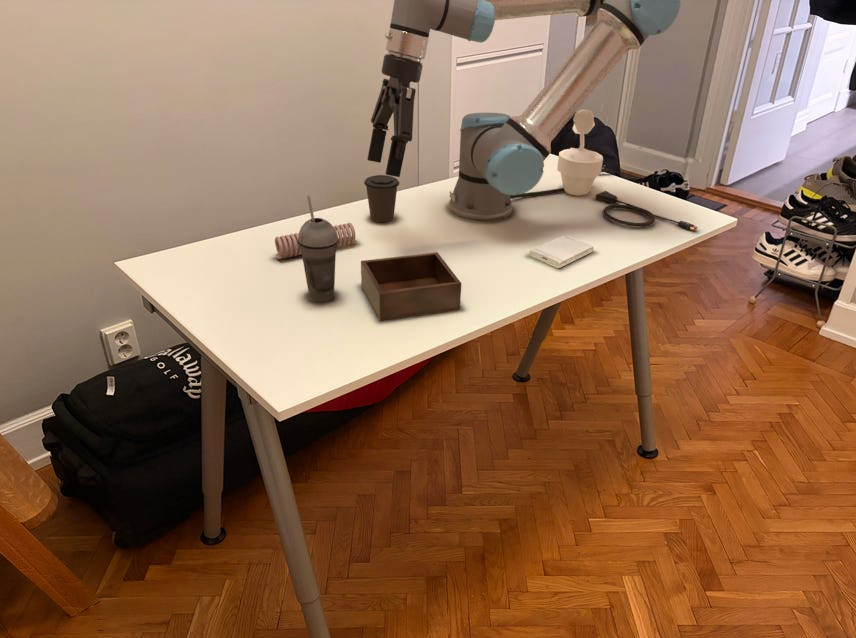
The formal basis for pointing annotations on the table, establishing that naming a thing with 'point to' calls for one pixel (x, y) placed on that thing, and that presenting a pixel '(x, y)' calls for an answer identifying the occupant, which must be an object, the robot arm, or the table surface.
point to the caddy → (410, 285)
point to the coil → (292, 247)
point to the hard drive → (561, 251)
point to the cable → (612, 199)
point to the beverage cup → (318, 256)
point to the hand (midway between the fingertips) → (382, 168)
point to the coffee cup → (381, 197)
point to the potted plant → (580, 159)
